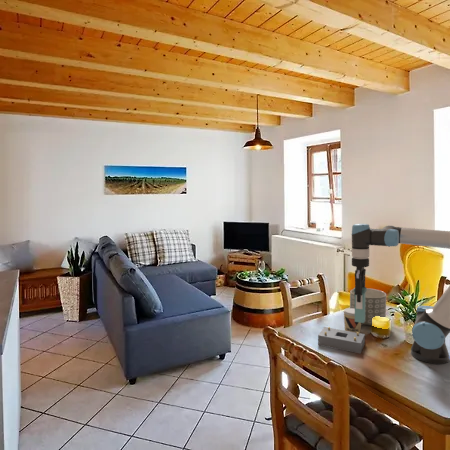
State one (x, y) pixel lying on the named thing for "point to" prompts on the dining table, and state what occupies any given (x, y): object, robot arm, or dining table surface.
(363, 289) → the plug
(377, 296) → the planter
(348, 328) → the coffee cup
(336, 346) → the block
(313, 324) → the dining table surface
